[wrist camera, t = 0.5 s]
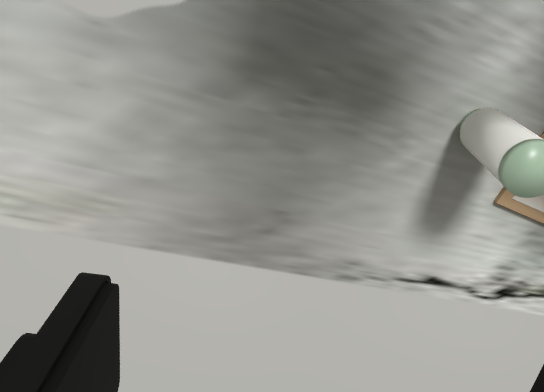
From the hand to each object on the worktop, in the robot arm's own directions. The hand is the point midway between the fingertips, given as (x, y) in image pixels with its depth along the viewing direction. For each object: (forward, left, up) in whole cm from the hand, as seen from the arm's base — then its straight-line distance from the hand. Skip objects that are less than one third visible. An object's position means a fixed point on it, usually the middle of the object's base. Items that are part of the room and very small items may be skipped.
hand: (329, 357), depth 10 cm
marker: (-2, +17, -33) cm, 37 cm away
